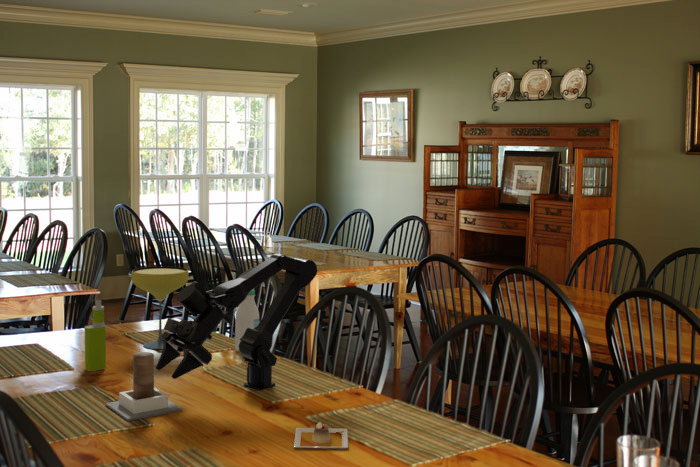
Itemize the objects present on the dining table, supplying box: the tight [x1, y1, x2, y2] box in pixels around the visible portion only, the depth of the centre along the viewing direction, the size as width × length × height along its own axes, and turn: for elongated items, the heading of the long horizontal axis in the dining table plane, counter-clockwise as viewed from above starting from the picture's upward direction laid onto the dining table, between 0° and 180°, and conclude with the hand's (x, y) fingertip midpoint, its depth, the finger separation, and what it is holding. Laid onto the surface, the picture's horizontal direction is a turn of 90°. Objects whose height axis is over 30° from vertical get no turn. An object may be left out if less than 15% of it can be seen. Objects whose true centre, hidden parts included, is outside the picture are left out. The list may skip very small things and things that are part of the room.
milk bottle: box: [234, 288, 260, 353], centre depth 258 cm, size 8×8×20 cm
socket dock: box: [105, 387, 183, 422], centre depth 200 cm, size 14×14×4 cm
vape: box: [84, 299, 107, 372], centre depth 233 cm, size 4×6×20 cm, turn 134°
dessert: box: [293, 421, 349, 450], centre depth 181 cm, size 12×12×5 cm
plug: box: [132, 351, 155, 400], centre depth 199 cm, size 5×5×13 cm
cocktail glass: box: [130, 265, 190, 351], centre depth 261 cm, size 18×18×25 cm
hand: (164, 373), depth 203 cm, fingers open, 9 cm apart
